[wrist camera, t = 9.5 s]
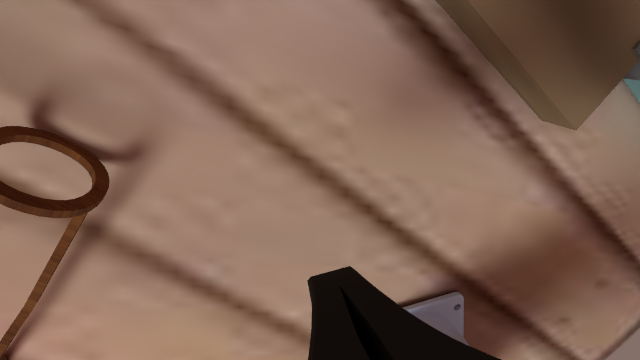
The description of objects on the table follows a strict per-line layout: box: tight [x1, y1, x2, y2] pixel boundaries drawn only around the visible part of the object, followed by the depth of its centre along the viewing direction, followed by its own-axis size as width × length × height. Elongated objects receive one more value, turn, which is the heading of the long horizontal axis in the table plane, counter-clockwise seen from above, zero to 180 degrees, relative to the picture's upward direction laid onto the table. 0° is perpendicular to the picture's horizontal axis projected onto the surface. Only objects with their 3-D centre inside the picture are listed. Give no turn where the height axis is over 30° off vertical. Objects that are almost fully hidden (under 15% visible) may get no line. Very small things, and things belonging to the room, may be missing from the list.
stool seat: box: [436, 0, 640, 130], centre depth 21 cm, size 10×23×3 cm, turn 51°
